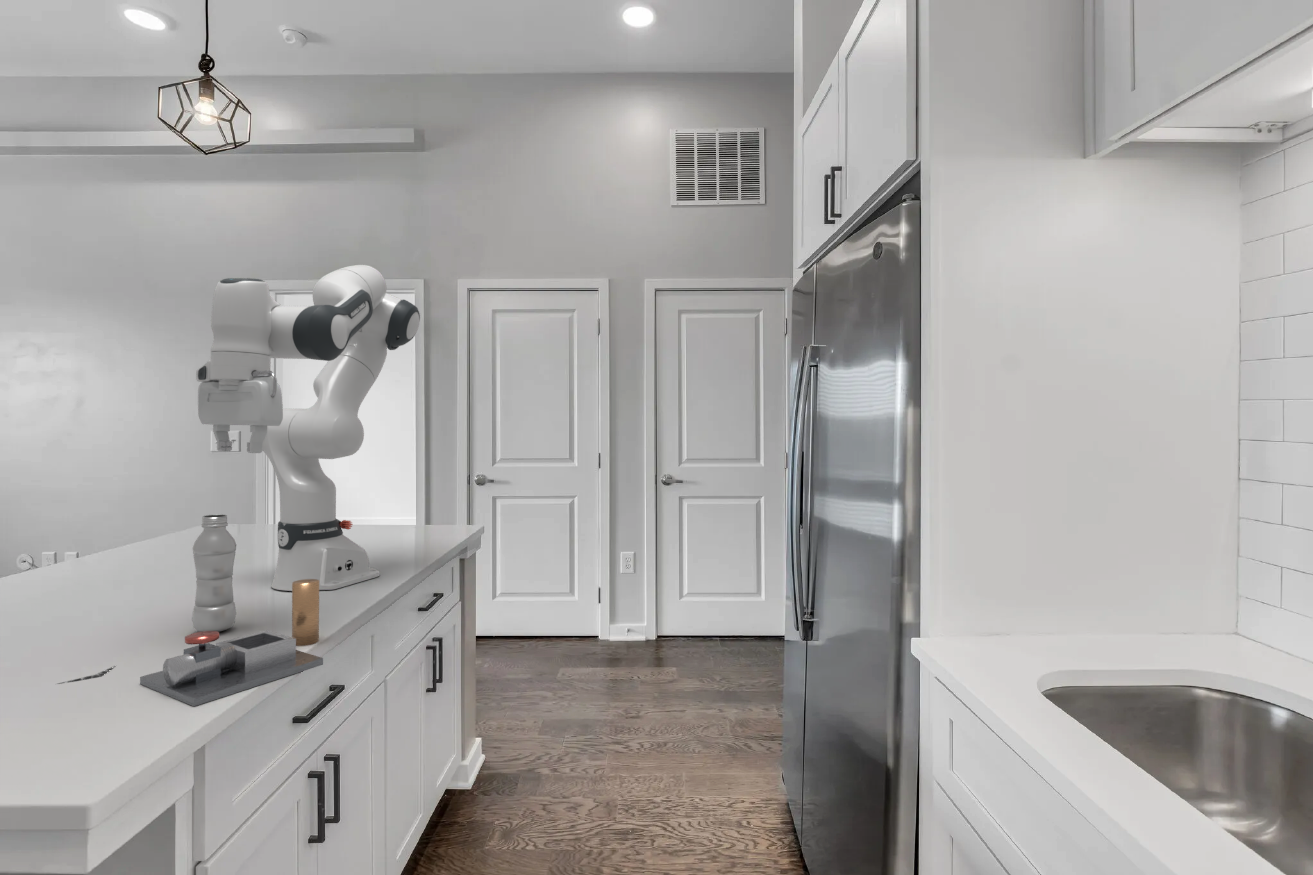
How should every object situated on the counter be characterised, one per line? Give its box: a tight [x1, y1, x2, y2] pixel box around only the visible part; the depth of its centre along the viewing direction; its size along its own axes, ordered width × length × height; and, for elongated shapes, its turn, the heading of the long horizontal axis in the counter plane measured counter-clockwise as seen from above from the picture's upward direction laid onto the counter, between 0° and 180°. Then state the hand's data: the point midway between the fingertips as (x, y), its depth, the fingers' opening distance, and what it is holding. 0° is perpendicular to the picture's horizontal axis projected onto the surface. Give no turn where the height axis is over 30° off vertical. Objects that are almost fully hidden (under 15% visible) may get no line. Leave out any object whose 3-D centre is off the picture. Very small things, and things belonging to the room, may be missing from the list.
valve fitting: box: [139, 629, 324, 707], centre depth 99 cm, size 18×14×7 cm
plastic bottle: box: [191, 513, 237, 633], centre depth 118 cm, size 6×7×20 cm
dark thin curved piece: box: [56, 665, 116, 685], centre depth 98 cm, size 13×1×5 cm
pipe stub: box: [291, 579, 320, 647], centre depth 114 cm, size 4×4×10 cm
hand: (239, 452), depth 117 cm, fingers open, 8 cm apart
